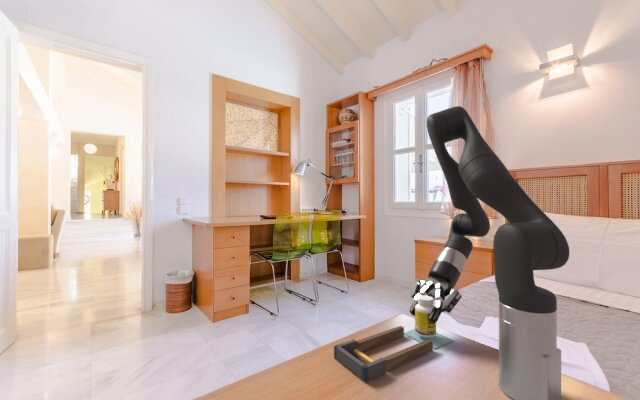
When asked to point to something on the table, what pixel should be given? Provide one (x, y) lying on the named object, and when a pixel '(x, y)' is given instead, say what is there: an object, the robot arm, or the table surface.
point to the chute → (400, 356)
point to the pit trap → (359, 361)
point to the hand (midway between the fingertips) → (421, 317)
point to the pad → (437, 339)
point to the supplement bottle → (424, 317)
